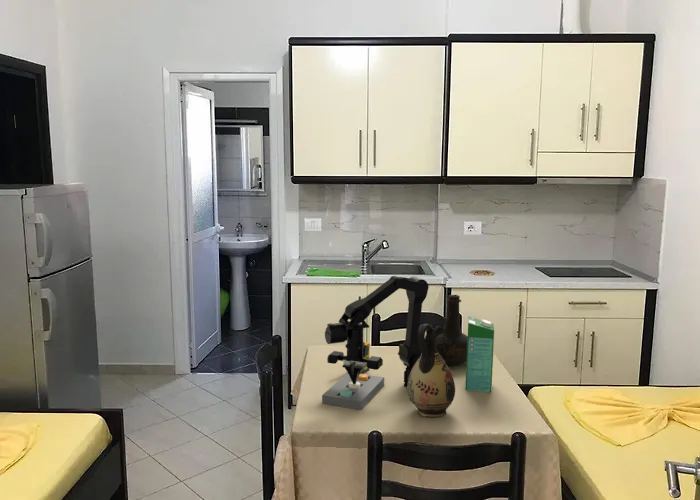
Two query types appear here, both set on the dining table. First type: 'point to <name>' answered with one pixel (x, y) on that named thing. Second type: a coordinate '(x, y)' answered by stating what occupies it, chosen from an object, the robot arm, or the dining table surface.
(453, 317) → the glass bottle
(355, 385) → the cream button
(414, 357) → the robot arm
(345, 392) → the teal button
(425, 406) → the ceramic jug
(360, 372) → the supplement box
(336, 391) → the console
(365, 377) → the orange button
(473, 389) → the milk carton
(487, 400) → the dining table surface
